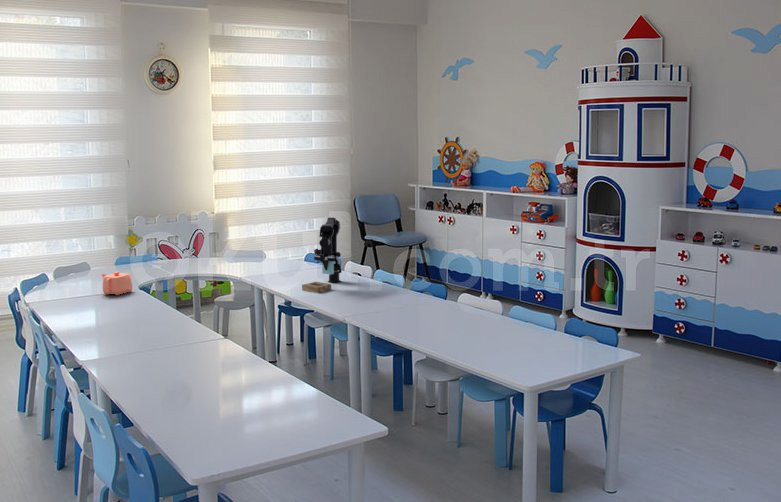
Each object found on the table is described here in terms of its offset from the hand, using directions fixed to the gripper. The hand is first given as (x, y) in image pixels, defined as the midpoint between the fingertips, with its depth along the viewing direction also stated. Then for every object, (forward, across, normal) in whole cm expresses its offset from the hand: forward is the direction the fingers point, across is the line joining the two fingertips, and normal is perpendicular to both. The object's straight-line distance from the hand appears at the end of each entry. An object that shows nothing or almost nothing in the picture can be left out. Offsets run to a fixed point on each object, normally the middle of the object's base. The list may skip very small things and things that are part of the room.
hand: (327, 269), depth 485 cm
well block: (+13, +6, -5) cm, 15 cm away
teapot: (+13, +84, -107) cm, 136 cm away
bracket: (+2, 0, 0) cm, 3 cm away
